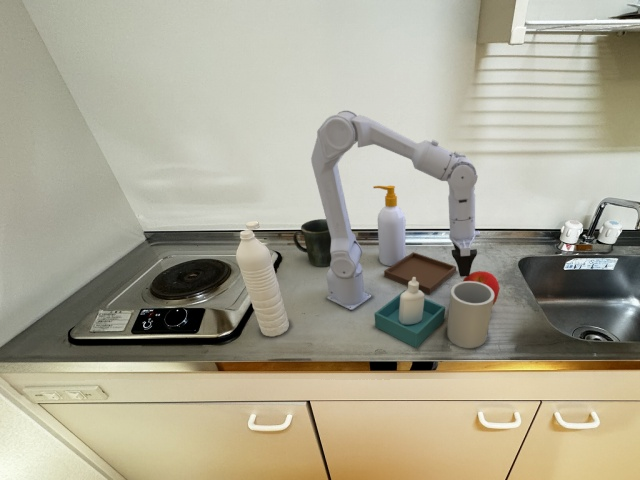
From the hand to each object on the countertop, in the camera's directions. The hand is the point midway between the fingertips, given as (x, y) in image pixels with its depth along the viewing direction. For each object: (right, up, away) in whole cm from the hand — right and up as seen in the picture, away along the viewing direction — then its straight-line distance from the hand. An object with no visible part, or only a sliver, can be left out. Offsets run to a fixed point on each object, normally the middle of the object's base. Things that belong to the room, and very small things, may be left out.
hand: (463, 268), depth 78 cm
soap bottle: (-19, +5, +26) cm, 32 cm away
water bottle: (-46, -14, -1) cm, 48 cm away
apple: (+5, -10, +4) cm, 12 cm away
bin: (-13, -14, -1) cm, 19 cm away
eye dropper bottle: (-13, -13, -1) cm, 19 cm away
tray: (-10, 0, +18) cm, 20 cm away
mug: (-42, +5, +26) cm, 50 cm away
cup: (0, -16, -4) cm, 17 cm away
